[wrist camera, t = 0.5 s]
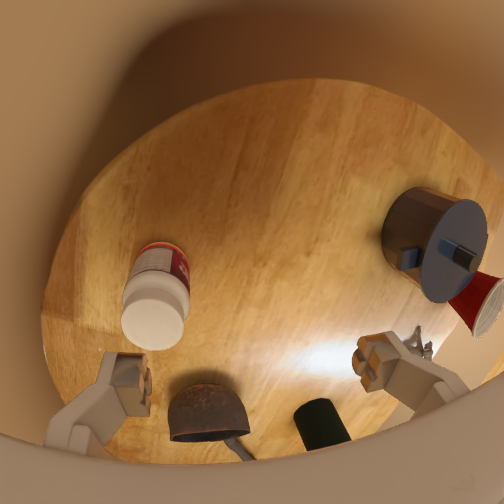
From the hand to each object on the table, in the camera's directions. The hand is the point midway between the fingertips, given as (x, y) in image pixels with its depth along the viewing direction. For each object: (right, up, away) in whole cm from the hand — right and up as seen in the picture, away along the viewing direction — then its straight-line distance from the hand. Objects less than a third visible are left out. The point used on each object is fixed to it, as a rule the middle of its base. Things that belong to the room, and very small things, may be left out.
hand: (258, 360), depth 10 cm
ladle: (-4, -29, +36) cm, 46 cm away
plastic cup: (+34, 0, +33) cm, 47 cm away
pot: (+23, +7, +27) cm, 36 cm away
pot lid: (+25, +4, +19) cm, 31 cm away
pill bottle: (-10, +3, +21) cm, 24 cm away
